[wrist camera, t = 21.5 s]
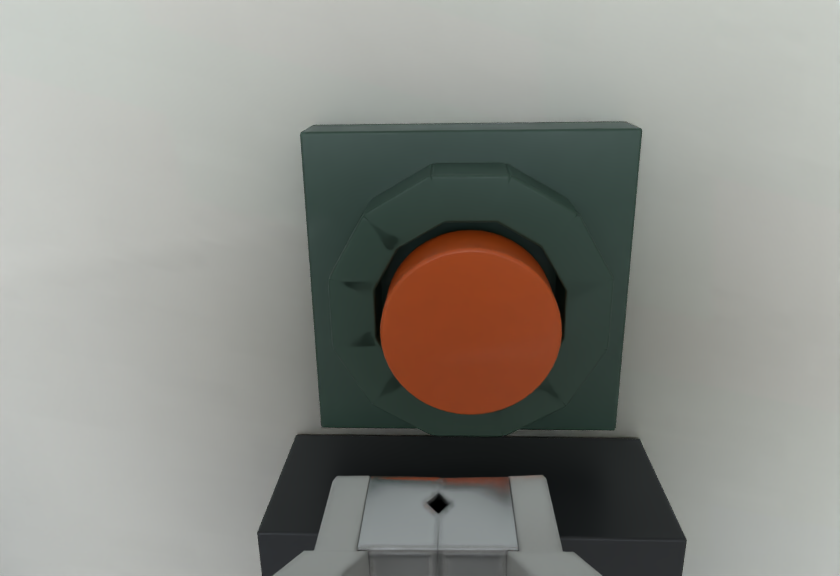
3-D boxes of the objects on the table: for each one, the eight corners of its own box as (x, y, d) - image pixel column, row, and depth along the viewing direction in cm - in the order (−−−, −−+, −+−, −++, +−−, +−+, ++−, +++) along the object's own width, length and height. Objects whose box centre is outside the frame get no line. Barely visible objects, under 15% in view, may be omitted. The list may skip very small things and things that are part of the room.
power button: (548, 384, 19) (557, 417, 17) (388, 383, 19) (382, 415, 18) (556, 228, 18) (567, 248, 16) (383, 229, 18) (376, 248, 16)
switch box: (604, 403, 23) (629, 465, 19) (330, 401, 23) (309, 461, 20) (627, 121, 20) (663, 137, 16) (311, 124, 20) (283, 141, 17)
